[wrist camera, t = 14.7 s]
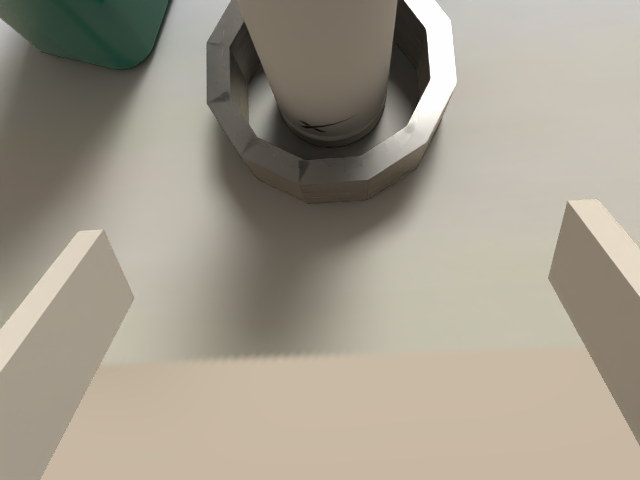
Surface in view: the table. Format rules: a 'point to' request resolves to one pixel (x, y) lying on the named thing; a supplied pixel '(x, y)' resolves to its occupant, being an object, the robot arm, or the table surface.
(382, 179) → the ring collar
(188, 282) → the table surface
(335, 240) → the table surface
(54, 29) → the green bottle
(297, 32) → the travel mug
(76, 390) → the robot arm
